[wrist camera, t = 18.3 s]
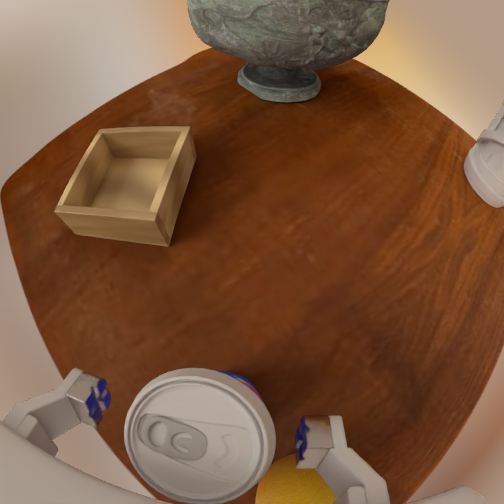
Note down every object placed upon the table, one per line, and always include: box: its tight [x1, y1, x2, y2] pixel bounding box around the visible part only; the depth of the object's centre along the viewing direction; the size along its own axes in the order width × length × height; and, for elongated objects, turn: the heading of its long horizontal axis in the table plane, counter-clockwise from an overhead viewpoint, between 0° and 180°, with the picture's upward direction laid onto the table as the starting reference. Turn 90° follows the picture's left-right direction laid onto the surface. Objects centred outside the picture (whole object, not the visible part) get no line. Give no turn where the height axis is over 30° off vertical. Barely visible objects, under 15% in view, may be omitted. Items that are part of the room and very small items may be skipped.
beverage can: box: [124, 368, 276, 504], centre depth 14 cm, size 5×5×15 cm
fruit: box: [256, 453, 373, 504], centre depth 14 cm, size 9×8×8 cm
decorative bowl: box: [187, 0, 389, 102], centre depth 30 cm, size 26×26×20 cm
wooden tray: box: [54, 126, 197, 247], centre depth 27 cm, size 12×12×5 cm
